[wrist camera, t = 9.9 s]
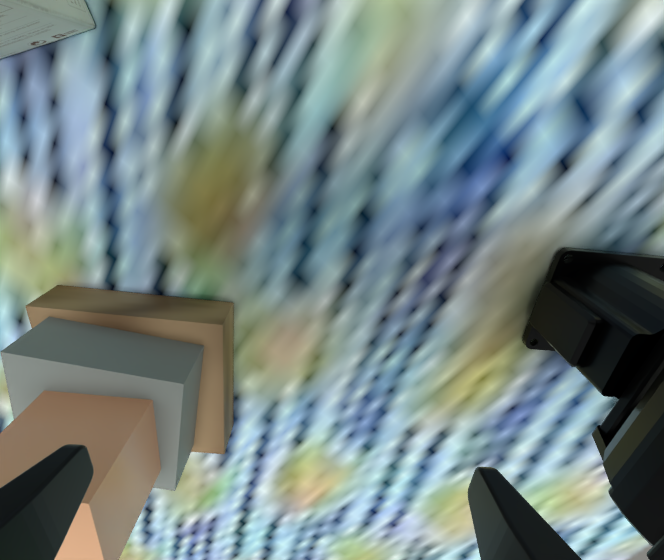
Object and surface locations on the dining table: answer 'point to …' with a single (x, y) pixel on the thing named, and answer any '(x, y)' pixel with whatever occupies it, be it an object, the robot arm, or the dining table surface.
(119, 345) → the grey square block
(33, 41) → the supplement box
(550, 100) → the dining table surface
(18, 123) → the dining table surface
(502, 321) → the dining table surface
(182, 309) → the walnut slab
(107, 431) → the terracotta cube
